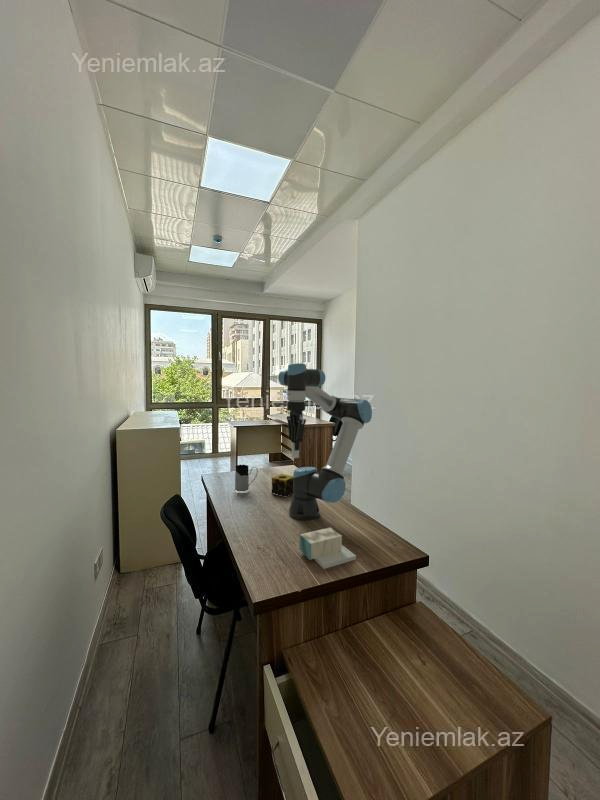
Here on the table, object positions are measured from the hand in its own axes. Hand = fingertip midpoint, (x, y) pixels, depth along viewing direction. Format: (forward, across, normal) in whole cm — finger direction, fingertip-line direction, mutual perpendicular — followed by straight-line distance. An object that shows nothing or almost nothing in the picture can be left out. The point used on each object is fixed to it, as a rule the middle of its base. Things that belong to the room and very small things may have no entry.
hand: (295, 457), depth 136 cm
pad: (+34, +16, +6) cm, 38 cm away
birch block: (+30, +16, -4) cm, 34 cm away
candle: (+35, -51, +19) cm, 65 cm away
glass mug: (+35, -65, +1) cm, 74 cm away
